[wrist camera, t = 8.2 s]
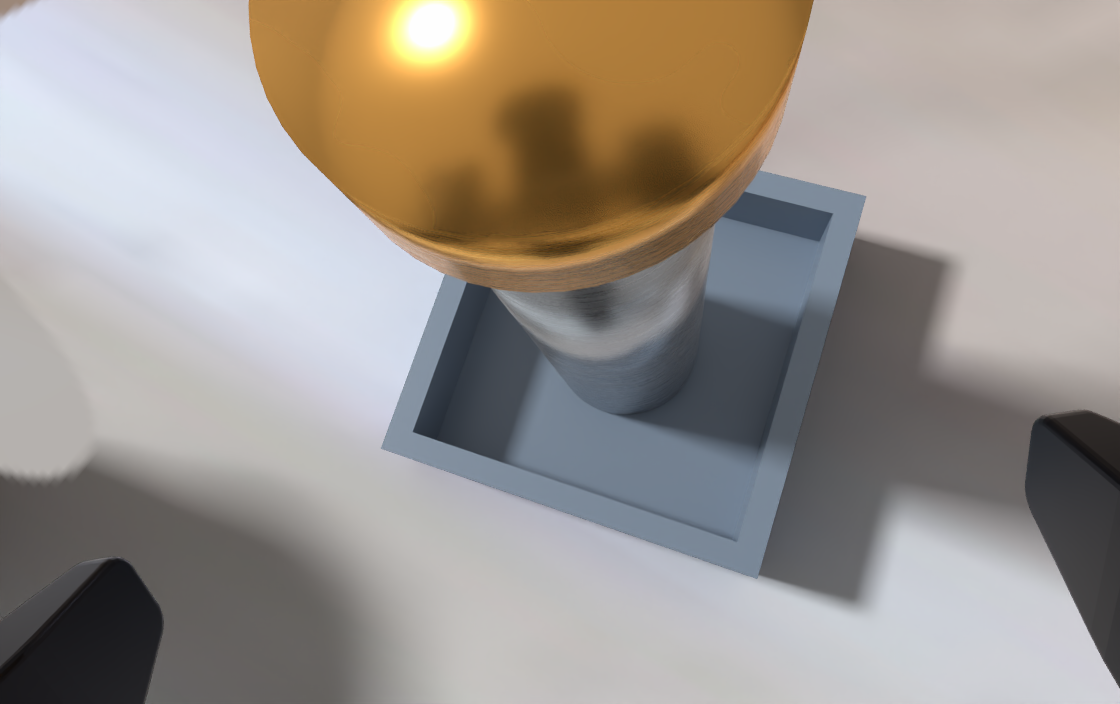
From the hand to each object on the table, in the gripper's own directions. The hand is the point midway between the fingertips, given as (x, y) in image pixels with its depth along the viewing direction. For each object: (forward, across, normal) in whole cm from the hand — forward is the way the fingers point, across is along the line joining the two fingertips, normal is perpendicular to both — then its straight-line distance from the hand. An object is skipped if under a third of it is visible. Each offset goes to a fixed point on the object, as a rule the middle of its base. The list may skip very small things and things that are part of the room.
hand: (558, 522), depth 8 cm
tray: (+12, -1, +6) cm, 13 cm away
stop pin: (+12, -1, +5) cm, 13 cm away
